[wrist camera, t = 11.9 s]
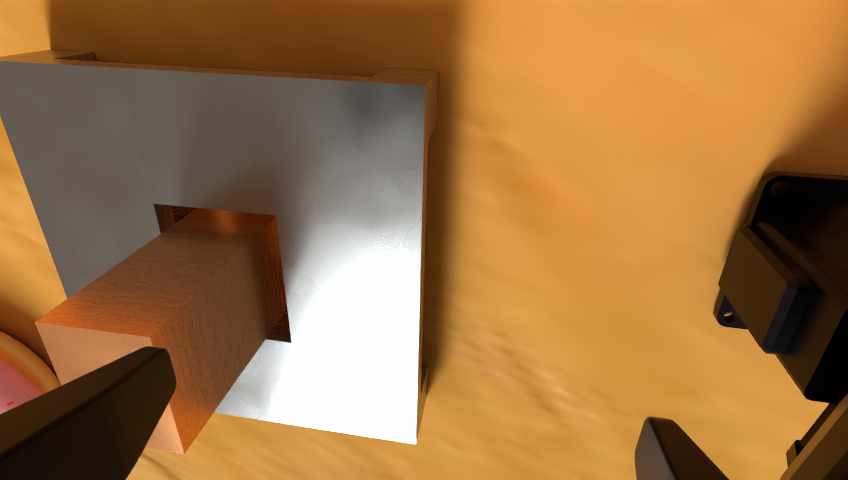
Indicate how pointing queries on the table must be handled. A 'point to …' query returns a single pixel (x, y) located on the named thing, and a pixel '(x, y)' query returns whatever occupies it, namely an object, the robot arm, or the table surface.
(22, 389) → the doughnut
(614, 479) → the table surface
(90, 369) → the square wooden peg
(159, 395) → the robot arm
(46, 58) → the slotted plate
